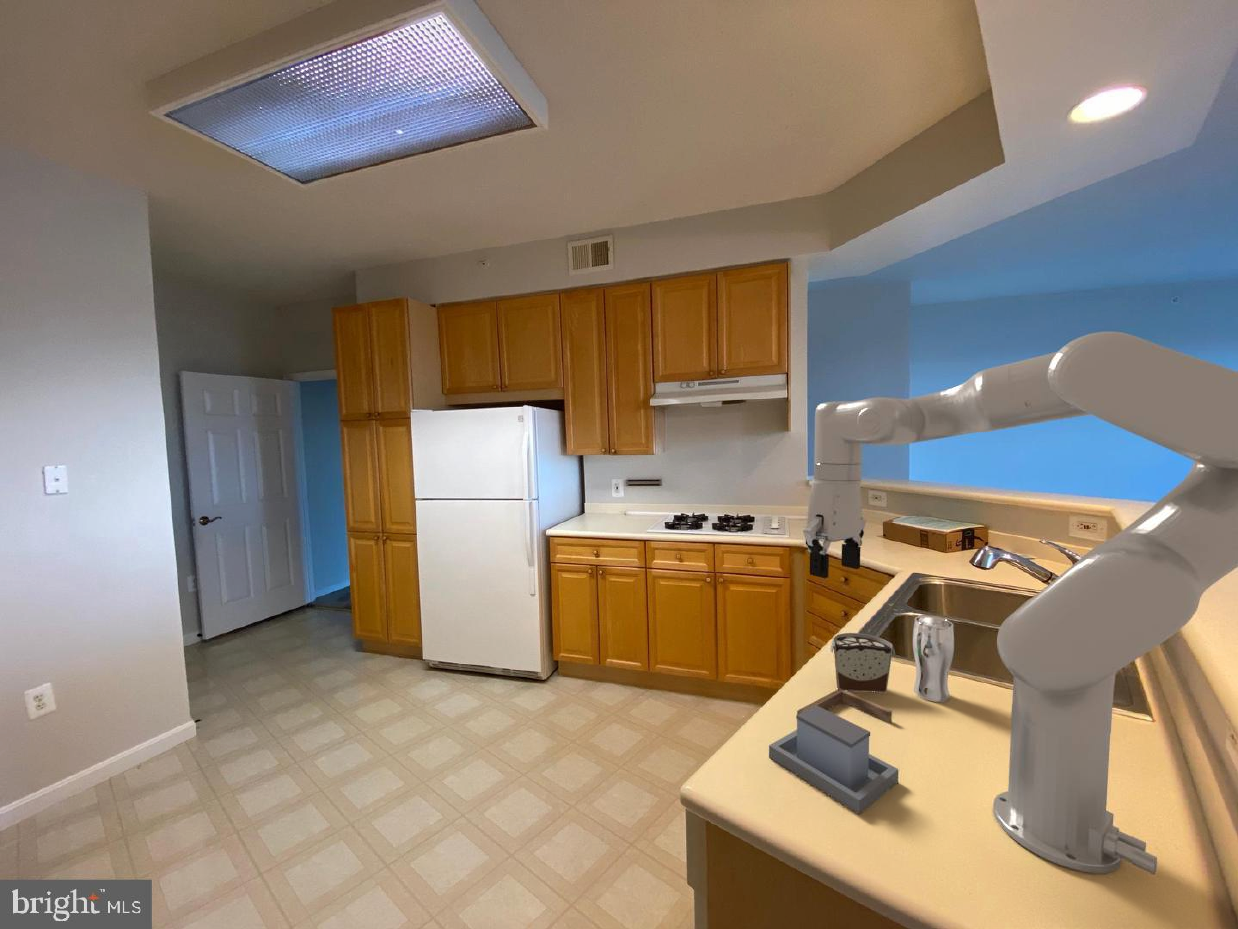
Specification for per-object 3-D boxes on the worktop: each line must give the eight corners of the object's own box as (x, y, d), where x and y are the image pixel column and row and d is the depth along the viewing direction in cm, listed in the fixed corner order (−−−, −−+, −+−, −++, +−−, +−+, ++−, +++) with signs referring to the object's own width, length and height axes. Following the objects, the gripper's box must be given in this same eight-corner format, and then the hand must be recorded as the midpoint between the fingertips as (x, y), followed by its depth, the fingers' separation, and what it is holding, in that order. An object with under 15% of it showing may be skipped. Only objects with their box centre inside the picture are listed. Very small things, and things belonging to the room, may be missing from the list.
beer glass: (960, 704, 96) (963, 628, 96) (924, 704, 96) (926, 628, 96) (937, 686, 103) (940, 615, 102) (904, 686, 103) (906, 615, 103)
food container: (881, 678, 107) (882, 632, 106) (894, 693, 101) (895, 645, 100) (821, 676, 108) (822, 630, 107) (830, 690, 102) (832, 642, 101)
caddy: (814, 745, 83) (815, 705, 82) (869, 776, 75) (870, 732, 75) (795, 757, 80) (796, 715, 80) (850, 790, 72) (851, 744, 72)
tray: (898, 782, 75) (898, 769, 75) (858, 814, 68) (859, 800, 68) (809, 733, 87) (809, 722, 87) (768, 757, 81) (769, 745, 80)
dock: (891, 721, 91) (891, 710, 91) (849, 749, 83) (849, 737, 82) (839, 698, 99) (840, 688, 99) (796, 721, 91) (797, 710, 91)
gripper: (844, 470, 94) (842, 560, 95) (787, 474, 84) (786, 575, 85) (884, 472, 88) (882, 568, 89) (828, 477, 78) (826, 585, 79)
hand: (835, 571), depth 87 cm, fingers open, 9 cm apart
